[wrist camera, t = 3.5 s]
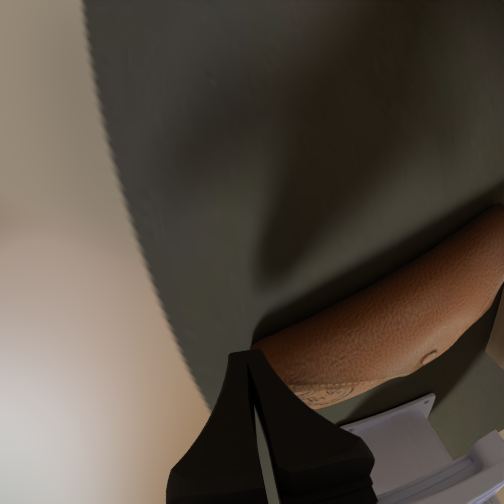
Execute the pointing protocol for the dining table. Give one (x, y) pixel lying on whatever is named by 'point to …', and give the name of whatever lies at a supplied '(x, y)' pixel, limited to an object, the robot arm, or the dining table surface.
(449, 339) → the sunglasses case
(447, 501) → the robot arm
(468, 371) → the dining table surface
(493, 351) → the bar
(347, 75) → the dining table surface
